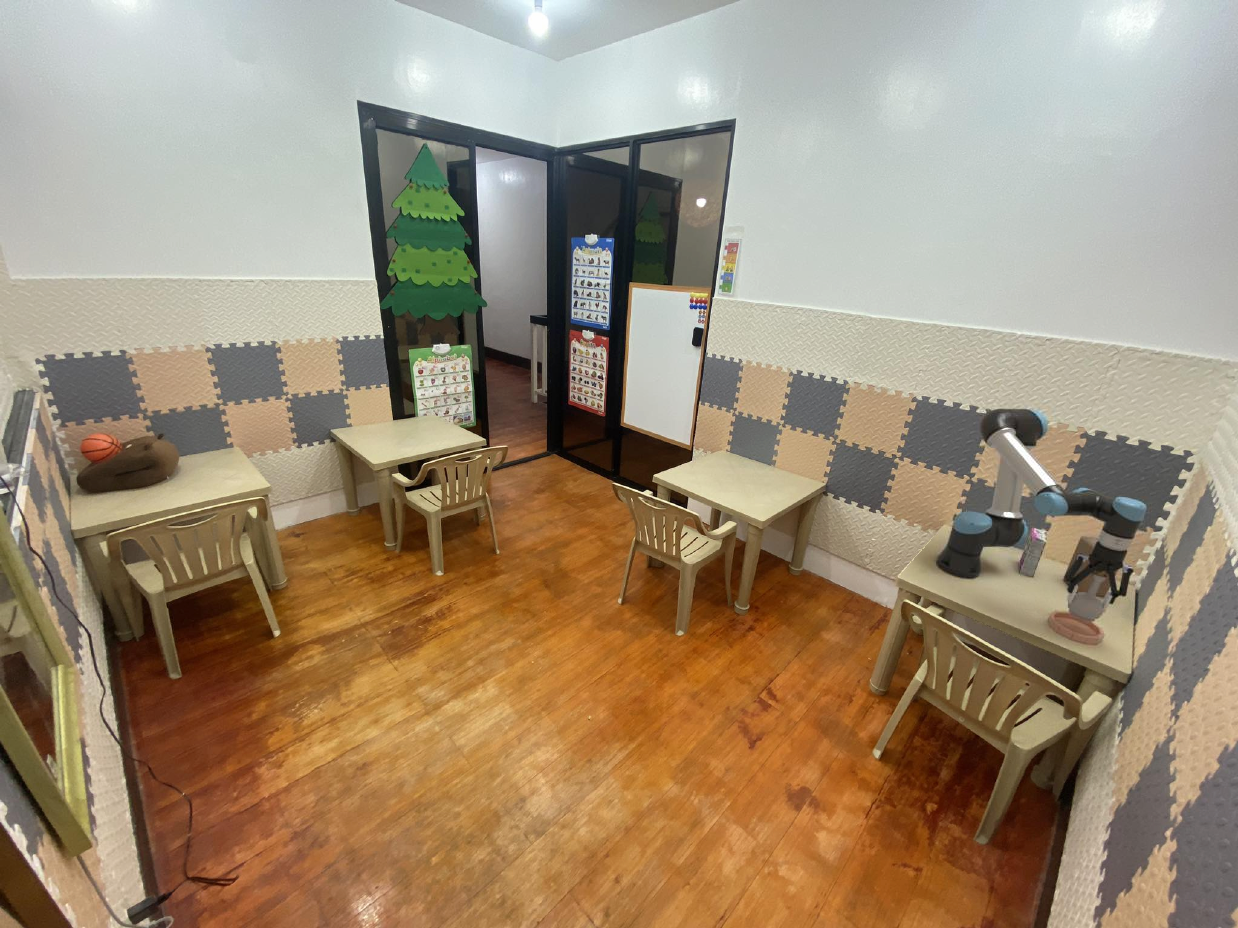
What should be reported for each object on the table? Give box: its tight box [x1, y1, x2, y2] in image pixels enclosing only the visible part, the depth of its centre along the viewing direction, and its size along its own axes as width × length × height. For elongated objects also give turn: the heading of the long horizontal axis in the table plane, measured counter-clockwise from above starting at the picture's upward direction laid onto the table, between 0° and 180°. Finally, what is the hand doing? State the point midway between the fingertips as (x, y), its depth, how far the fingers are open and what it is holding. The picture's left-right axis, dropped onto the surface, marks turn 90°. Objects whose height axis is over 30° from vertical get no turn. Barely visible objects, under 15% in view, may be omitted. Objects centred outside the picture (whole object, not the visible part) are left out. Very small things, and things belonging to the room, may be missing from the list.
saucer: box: [1047, 610, 1106, 645], centre depth 176 cm, size 14×14×2 cm
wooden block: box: [1063, 535, 1119, 598], centre depth 197 cm, size 10×10×20 cm
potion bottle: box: [1067, 571, 1107, 622], centre depth 170 cm, size 9×9×18 cm
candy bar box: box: [1018, 527, 1048, 578], centre depth 208 cm, size 11×5×16 cm, turn 143°
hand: (1085, 605), depth 172 cm, fingers closed on potion bottle, 8 cm apart
